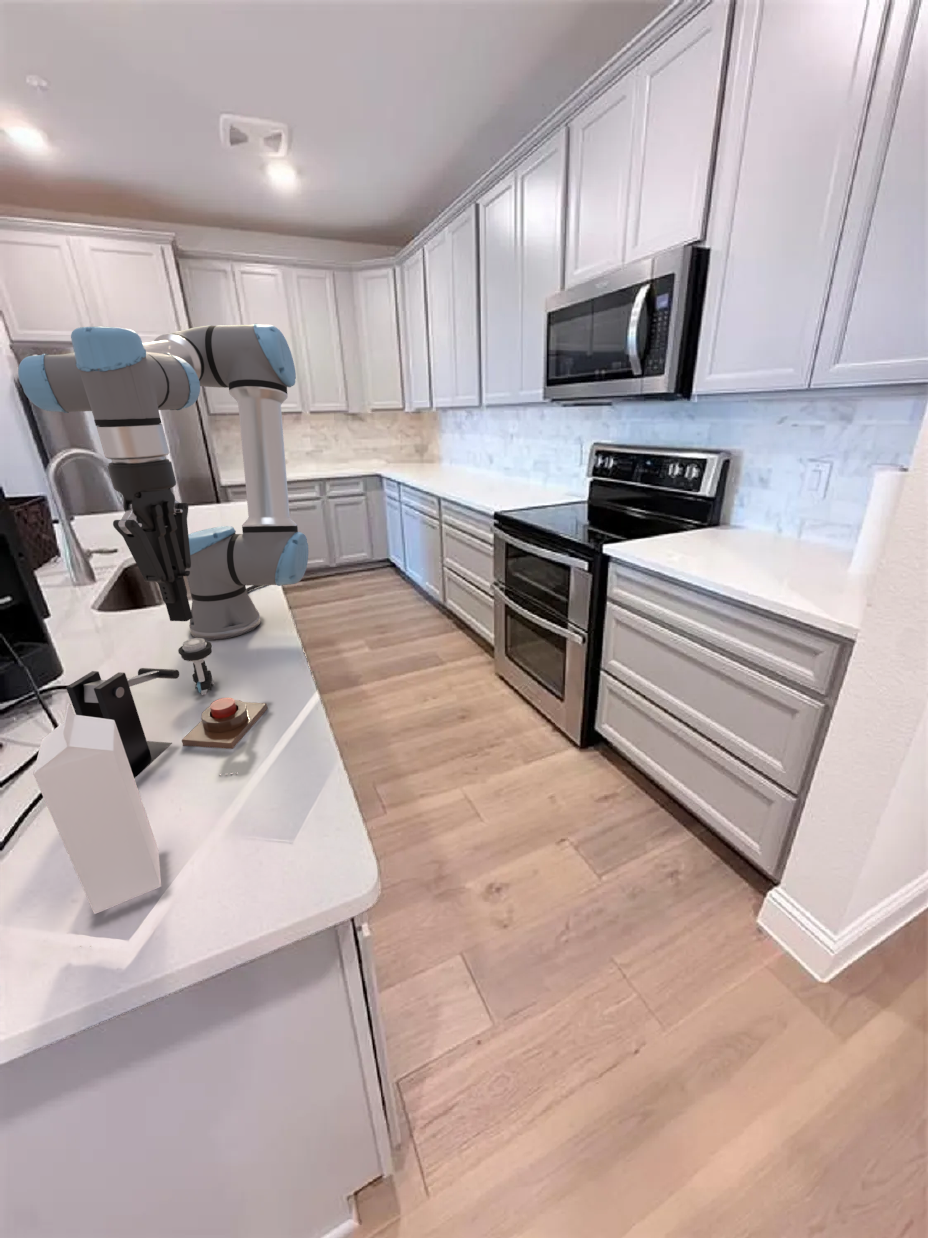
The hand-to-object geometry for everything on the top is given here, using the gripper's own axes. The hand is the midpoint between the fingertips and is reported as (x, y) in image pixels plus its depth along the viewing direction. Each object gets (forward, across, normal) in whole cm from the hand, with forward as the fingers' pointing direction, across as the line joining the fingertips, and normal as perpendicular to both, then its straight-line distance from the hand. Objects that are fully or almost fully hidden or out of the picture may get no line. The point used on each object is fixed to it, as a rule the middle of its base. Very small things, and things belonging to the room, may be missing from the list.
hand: (181, 619), depth 78 cm
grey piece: (+19, -8, -5) cm, 21 cm away
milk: (+18, +32, +10) cm, 38 cm away
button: (+15, +4, +6) cm, 16 cm away
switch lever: (+8, +9, -4) cm, 12 cm away
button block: (+18, +4, +6) cm, 19 cm away
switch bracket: (+18, +13, -4) cm, 23 cm away
